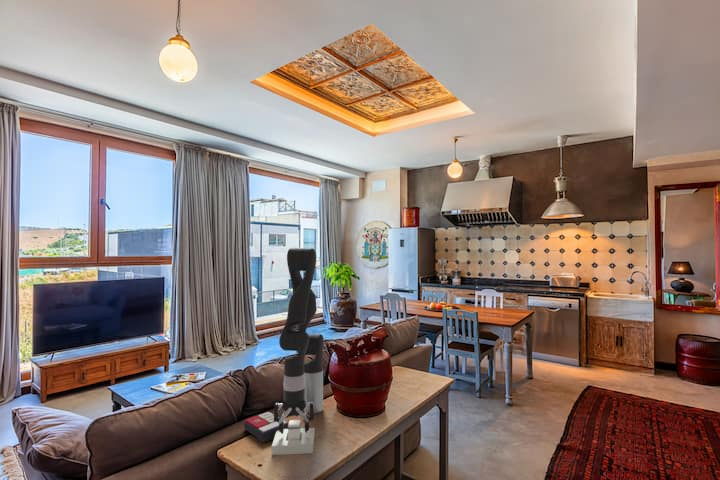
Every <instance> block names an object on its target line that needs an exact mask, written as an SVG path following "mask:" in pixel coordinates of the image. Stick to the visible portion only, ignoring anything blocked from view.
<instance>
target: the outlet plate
mask: <svg viewBox="0 0 720 480" xmlns="http://www.w3.org/2000/svg"><path fill="white" fill-rule="evenodd" d="M315 432H316V431H315V427H309V431H307V433H305V427H301V440H289V441H288V429H284V432H283V434H281V432H279V430H277V431H276V434H275V437H274V439H272V440H273V441H272V444H271V456H280V455H281V456H282V455H300V454H301V455H303V454H314V448H315V445H314V444H315Z"/></svg>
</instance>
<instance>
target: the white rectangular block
mask: <svg viewBox="0 0 720 480" xmlns="http://www.w3.org/2000/svg"><path fill="white" fill-rule="evenodd" d="M301 426H302V425H301V419H291V420H289V422H288V441H289V440H301V428H302V427H301Z"/></svg>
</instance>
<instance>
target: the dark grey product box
mask: <svg viewBox="0 0 720 480" xmlns="http://www.w3.org/2000/svg"><path fill="white" fill-rule="evenodd" d="M283 421H284V429H288V424H289V422H288V421H286V420H285V419H284V420H283ZM243 426H244V427H243V429H244V430H245V431H247V432H248V433H250V434H252V435H253V436H254V437H256V439H257V440H258V441H260V442H261V443H263V444H264V443H267V442H269V441H271V440H274V437H275V434H276V431H277V430H279V423H278V422H274V413H272V412H269V411H267V412H264V413H261V414H258V415H256V416H252V417H249V418H247V419H245V420H244V421H243Z"/></svg>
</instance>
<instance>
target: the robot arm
mask: <svg viewBox="0 0 720 480" xmlns="http://www.w3.org/2000/svg"><path fill="white" fill-rule="evenodd" d="M286 254H287V255H286V262H287V269H288V273H289V278H290V281H291V287H292V295H291V297H290V298H289V302H288V307H287V308H288V309H287V315H286V316H287V317H286V321H285V323H284V326H283V328H282V332H281V334H280V337H279V340H278V341H279V347H280V349H281V350H283V351H287V352H288V351H289V352H291V351H292V352H295V351H296V352H297V354H295V355H291V356H287V357H286V358H284V359H285V360H284V366H283V367H284V374H283V375H284V376H283V402H280V403H279V402H275V404H274V410H273V414H274V422H278V423H279V432H281V434H283V432H284V421H285V419H286V418H287V417H288V416H289V417H299V416H300V418H302V419H303V420H304V428H305V433H307V431H309V428H310V421H314V419H315V414H319V413H321V412H323V410H324V345H325V344H324V343H325V340H324V336H323V334H322V333H318V332H317V333H312V332H311V333H310V332H309V333H308V332H307V329H308V326H309V324H310V323H311V321H312V320H314V317H315V315H316V313H317V309H318V307H317V297H316V295H315V292H314V291H313V289H312V285H313V284H312V283H313V281H314V277H315V276H314V275H315V271H316V266H317V253H316V250H315V248H313V247H290V248H289V249H287V253H286ZM301 272H304V276H303V277H302V274H301ZM295 327H297V330H294V328H295ZM306 356H315V357H313V359H309V360H307V361H306V360H305V357H306ZM281 409H283V413H282V414H281V416H279V411H280V410H281ZM283 420H284V421H283Z"/></svg>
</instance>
